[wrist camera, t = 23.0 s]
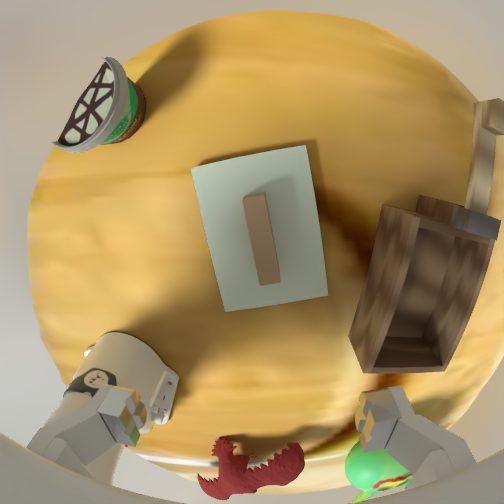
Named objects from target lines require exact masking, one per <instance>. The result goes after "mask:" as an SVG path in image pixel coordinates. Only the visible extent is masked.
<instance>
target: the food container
mask: <svg viewBox="0 0 504 504" xmlns="http://www.w3.org/2000/svg"><path fill="white" fill-rule="evenodd" d="M102 58H103V57H102ZM103 59H104V60H105V63H104V64H103V65H102V66H101V69H100V70H99V72H98V73H97V75H96V76H95V78H94V79H93V80H92V82H91V83H90V85H89V86H88V87H87V89H86V90H85V91H84V92H83V94H82V95H81V97H80V98H79V100H78V101H77V103H76V105H75V107H74V109H73V111H72V114H71V116H70V118H69V120H68V122H67V124H66V126H65V128H64V130H63V132H62V134H61V136H60V138H59V140H58V141H56V142H52V143H53V144H54V145H55V146H57V147H58V148H61V149H63V150H66V151H69V152H74V153H80V152H85V151H88V150H91V149H93V148H95V147H96V146H98V145H104V144H113V143H119V142H123V141H124V140H126V139H128V138H130V137H131V136H132V135H133V134H134V133H135V132H136V131H137V130H138V129H139V127H140V126H141V124H142V122H143V119H144V116H145V112H146V101H145V97H144V94H143V92H142V90H141V89H140V88H139V87H138V86H137V85H136V84H135V83H134V82H133V81H131V80H130V79H129V78H128V77H127V76H126V73H125V71H124V69H123V67H122V66H121V64H120V63H119V62H118V61H117V60H115V59H114V58H109V57H106V58H103Z"/></svg>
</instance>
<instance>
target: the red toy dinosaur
mask: <svg viewBox="0 0 504 504" xmlns="http://www.w3.org/2000/svg"><path fill="white" fill-rule="evenodd" d="M215 442H216V445H213V446H214V448H215V449H213V450H212V452H214V454H212V456H217V457H218V458H219V477H218V480H217V479H216V478H214V482H213V481H212V480H211V479H209V481H207V480H206V479H205V478H204V479H203V478H202V477H201V476H200V475H199V474H198V481H199V484H200V486H201V488H202V489H203V491H204V492H205V493H206V494H208V495H209V496H211V497H214V498H216V499H219V500H227V499H229V497H230V495H232V494H243V493H255V492H257V489H258V488H260V487H263V486H266V485H280V486H285V485H287V484H288V483H290V482H292V481H293V480H295V479H296V478H297V477H298V475H299V474H300V473H301V472H302V470H303V469H304V466H305V461H304V453H303V450H302V448H301V446H300V445H299V443H293V444H292V443H287V445H288V447H289V449H288V450H287V449H282V454H280V455H279V454H278V453H275V454H274V460H271V459H267V461H268V466H266V465H265V464H262V463H261V464H260V466H261V468H262V469H260V468H259V467H257V466H255V467H254V470H253V469H251V468H248V469H247V464H248V461H249V459H250V457H252V458H253V457H254V455H253V454H252V455H251V456H248V455H236V456H234V455H233V450H234V449H235V448H236V447H237V446H234V447H233V443H229V440H227V437H225V438H223V439H222V438H221V437H219V440H218V441H215ZM256 457H257V456H256ZM254 458H255V457H254Z"/></svg>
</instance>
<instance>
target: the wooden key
mask: <svg viewBox="0 0 504 504" xmlns="http://www.w3.org/2000/svg"><path fill="white" fill-rule="evenodd" d="M496 135H504V101H502V100H500V99H499V98H497V99H492V100H488V101H483V102H478V103H474V126H473V143H472V155H471V165H470V173H469V181H468V188H467V194H466V200H465V205H464V208H466V209H470V210H473V211H476V212H479V213H482V214H485V215H487V210H488V204H489V198H490V192H491V185H492V177H493V168H494V158H495V144H496Z"/></svg>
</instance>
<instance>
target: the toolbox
mask: <svg viewBox="0 0 504 504" xmlns="http://www.w3.org/2000/svg"><path fill="white" fill-rule="evenodd" d="M500 223H501V220H498V219H496V218H493V217H490V216H487V215H485V214H482V213H479V212H476V211H473V210H470V209H466V208H464V207H463V206H460V205H457V204H453V203H449V202H446V201H442V200H438V199H434V198H430V197H426V196H422V195H419V200H418V205H417V210H416V212H413V211H409V210H404V209H400V208H396V207H391V206H387V205H382V210H381V215H380V220H379V225H378V229H377V234H376V238H375V243H374V247H373V251H372V256H371V260H370V264H369V268H368V271H367V275H366V279H365V283H364V286H363V290H362V294H361V297H360V300H359V304H358V307H357V311H356V314H355V317H354V320H353V323H352V326H351V330H350V333H349V336H348V337H349V339H350V341H351V344H352V346H353V349H354V351H355V354H356V356H357V359H358V361H359V364H360V366H361V369H362V371H363V373H424V372H441V371H445V370H446V368H447V366H448V364H449V362H450V360H451V358H452V356H453V354H454V352H455V350H456V348H457V346H458V344H459V342H460V339H461V337H462V335H463V333H464V331H465V328H466V326H467V324H468V321H469V319H470V316H471V314H472V311H473V309H474V306H475V303H476V301H477V298H478V295H479V292H480V290H481V287H482V284H483V281H484V277H485V274H486V271H487V268H488V264H489V261H490V257H491V254H492V250H493V246H494V242H495V240H497V237H498V232H499V228H500Z"/></svg>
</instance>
